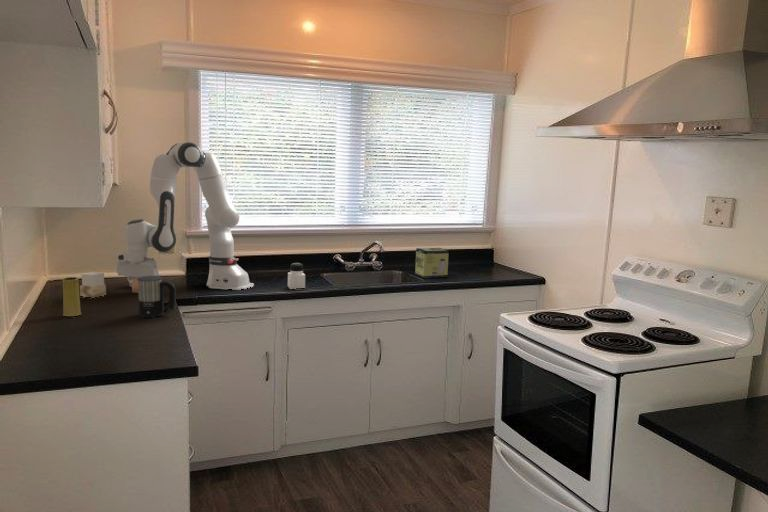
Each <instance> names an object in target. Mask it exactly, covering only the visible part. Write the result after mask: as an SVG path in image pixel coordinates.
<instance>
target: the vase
mask: <svg viewBox="0 0 768 512" xmlns="http://www.w3.org/2000/svg"><path fill="white" fill-rule="evenodd" d="M79 280H80V279H79V277H76V276H75V277H74V276H70V277H63V278H62V297H63V298H62V299H63V300H62V301H63V303H62V306H63V309H62V310H63V311H62V312H63V313H62V317H63V316H78V315H82V312H81V300H80V299H81V297H80V283H79V282H80V281H79Z"/></svg>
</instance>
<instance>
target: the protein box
mask: <svg viewBox="0 0 768 512" xmlns="http://www.w3.org/2000/svg"><path fill="white" fill-rule="evenodd" d="M449 253H450V251H449V250H448V249H445V248H442V247H424V248H423V247H422V248H420V247H418V248H417V247H416V251H415V267H414V268H415V270H414V272H415V273H414V275H415V276H416V275H418V276H421V277H430V276H444V275H447V276H448V272H449V271H448V269H449ZM418 276H417V277H418ZM421 277H420V278H421Z"/></svg>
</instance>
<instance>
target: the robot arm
mask: <svg viewBox="0 0 768 512" xmlns="http://www.w3.org/2000/svg"><path fill="white" fill-rule="evenodd" d="M189 167H190V168H193V169H194V170H195V172H196V176H197V179H198V182H199V186H200V189H201V190H200V191H201V192H202V196H203V197H204V200H206V202H207V203H206V204H207V205H208V206H207V207H206V209H205V211H204V217H205V219H206V224H207V225H206V226H207V231H208V235H209V237H208V238H209V256H208V263H209V271H208V272H209V273H208V278H207V282H206V286H207V287H208V289H213V290H214V289H215V290H216V289H217V290H218V289H219V290H228V289H232V291H242V290H241V289H244V290H248V289H250V287H251V288H254V286H255V284H254V283H253V282H250V278H249V274H248V272H247V271H246V270H244V269H243V268H242V267H241V266H240V265H239V264H238V262H237V261H239V258H238V257H237V258H236V257H235V255H234V253H235V252H234V251H235V247H234V245H235V243H234V241H235V240H234V237H233V234H232V228H235V227H236V226H237V225H238V224H239V222H240V214H239V212H238V211H237V209H236V207H235V205H234V202H233V200H232V199H231V196H230V194H229V192H228V189H227V185H226V183H225V179H224V175H223V173H222V170H221V166H220V164H219V161H218V159H217V158H216V156H215V155H214V154H213V153H211V152H208V151H207V152H205V151H203V150H202V149H201V147H200V146H199V145H197V144H196V143H194V142H187V141H182V142H178V143H175V144H173V145H172V146H171V147H170V148H169V150H168V151H167V152H166V154H159V155H157V156H156V157H154V159H153V163H152V166H151V170H150V172H151V173H150V178H149V189H150V190H149V191H150V194H151V195H152V197H153V199H154V200H155V201H156V204H157V208H158V216H157V225H154V224H152V223H149V222H148V221H146V220H145V219H134V220H131V221H128V222H127V224H126V228H125V242H126V249H125V252H124V253H119V254H117V255H116V259H117V261H116V273H117V275H118V276H121V277H122V276H123V277H126V279H127V281H128V283H129V287H131V288H132V278H138V277H142V276H160V275H159V274H160V273H159V268H158V262H157V260H156V259H155V258H153V257H149V252H148V251H149V250H148V248H153V249H155V250H156V251H157V252H161V253H167V252H169V251H171V250H172V249H173V248H174V247H175V245H176V243H177V238H176V237H177V236H176V234H175V229H174V221H175V199H176V190H177V189H176V188H177V181H178V173H179V171H180V169H181V168H189ZM247 288H248V289H247Z"/></svg>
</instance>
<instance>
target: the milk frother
mask: <svg viewBox="0 0 768 512" xmlns="http://www.w3.org/2000/svg"><path fill="white" fill-rule="evenodd" d="M137 279H138V293H137V294H138V315H139V316H138V317H140V316H141V317H140V318H144V317H152V318H156V317H155V316H159V317H161V316H160V315H162V316H163V315H165V313H164V311H165V310H166V309H167V310H168V308H169V309H170V310H173V309H175V307H176V294H177V293H176V291H177V289H176V286H175V285H176V284H174V283H173V282H172V281H170V280H163V276H162V275H159V276H142V277H138V278H137ZM164 287H166V288H168V291H169V293H168V294H169V297H168V301H165V300H164Z"/></svg>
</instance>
